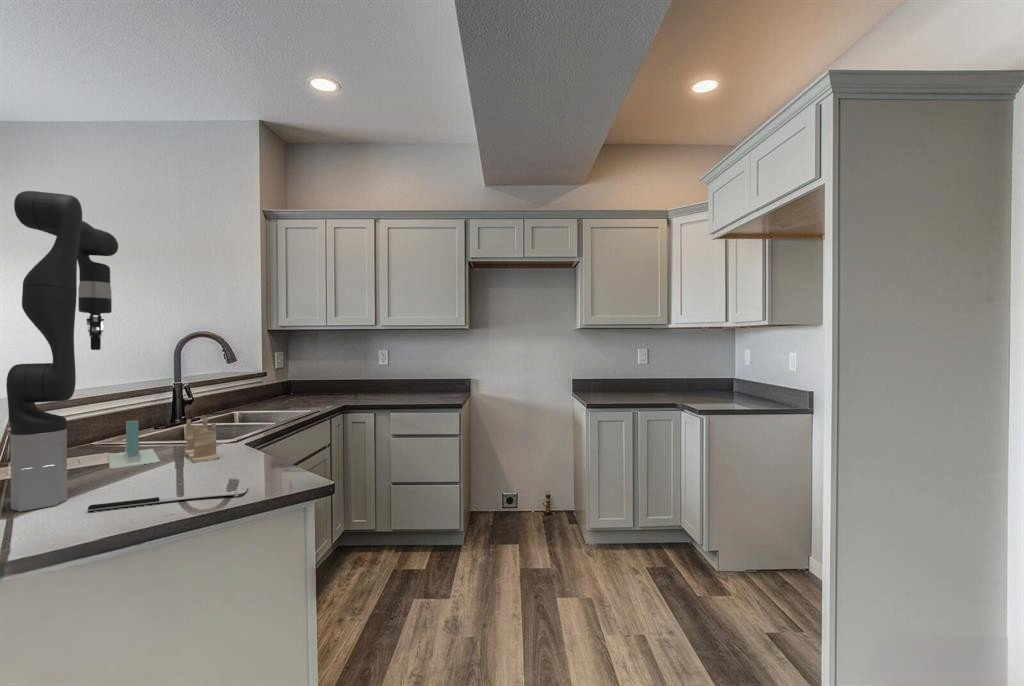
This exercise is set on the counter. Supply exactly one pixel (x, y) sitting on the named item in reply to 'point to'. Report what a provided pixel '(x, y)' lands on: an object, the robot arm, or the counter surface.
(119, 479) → the counter surface
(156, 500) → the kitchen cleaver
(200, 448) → the rack
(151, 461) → the mat
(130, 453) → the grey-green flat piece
